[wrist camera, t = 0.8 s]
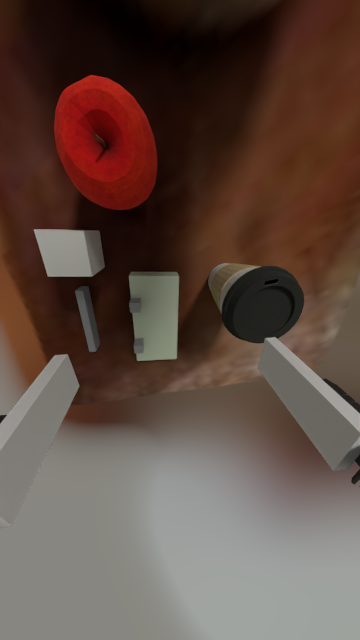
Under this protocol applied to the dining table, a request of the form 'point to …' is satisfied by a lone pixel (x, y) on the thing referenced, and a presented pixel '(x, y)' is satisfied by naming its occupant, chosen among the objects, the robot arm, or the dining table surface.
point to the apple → (105, 143)
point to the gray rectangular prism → (70, 252)
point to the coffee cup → (256, 300)
